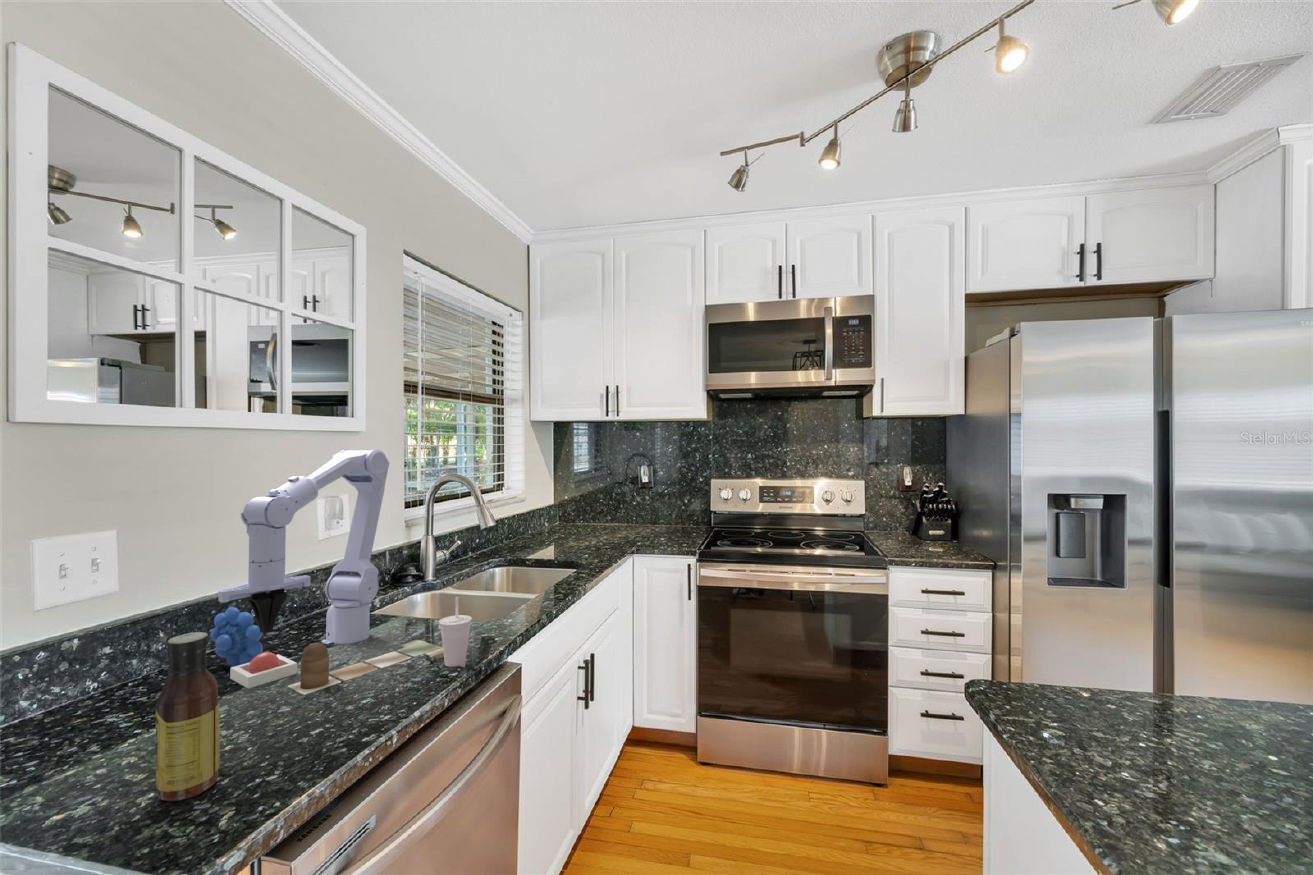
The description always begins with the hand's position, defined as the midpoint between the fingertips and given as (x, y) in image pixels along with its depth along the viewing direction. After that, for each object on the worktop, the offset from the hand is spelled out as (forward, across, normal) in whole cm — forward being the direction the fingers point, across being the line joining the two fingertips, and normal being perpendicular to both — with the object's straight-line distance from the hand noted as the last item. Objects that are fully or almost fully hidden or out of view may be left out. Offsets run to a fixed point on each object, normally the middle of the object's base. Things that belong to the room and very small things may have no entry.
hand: (266, 631), depth 104 cm
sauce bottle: (+10, -20, -30) cm, 37 cm away
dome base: (+9, 0, 0) cm, 9 cm away
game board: (+9, +14, -12) cm, 20 cm away
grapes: (+10, -1, +12) cm, 16 cm away
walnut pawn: (+8, +4, -12) cm, 15 cm away
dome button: (+9, 0, 0) cm, 9 cm away
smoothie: (+10, +24, -24) cm, 36 cm away
